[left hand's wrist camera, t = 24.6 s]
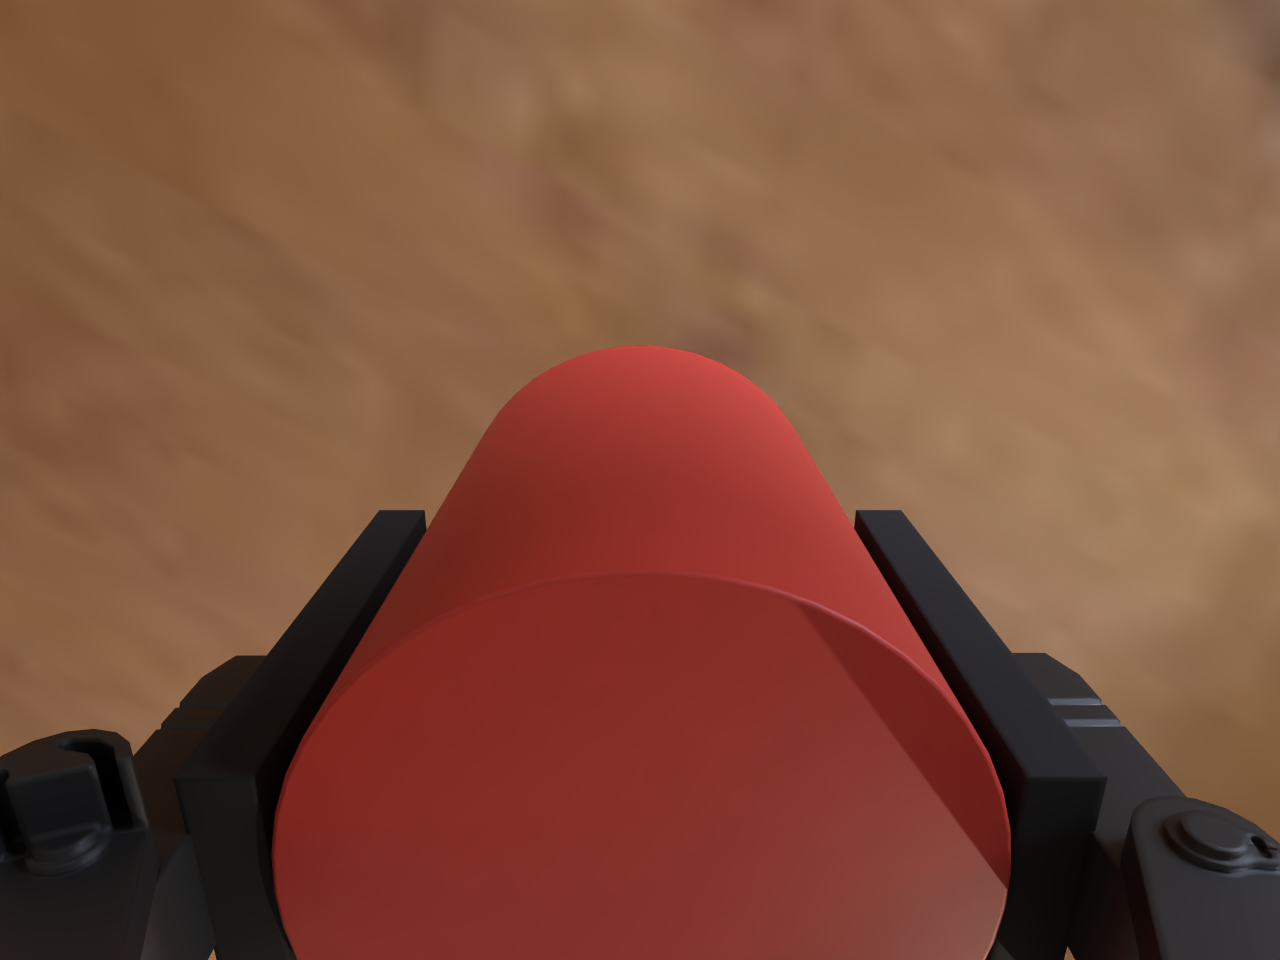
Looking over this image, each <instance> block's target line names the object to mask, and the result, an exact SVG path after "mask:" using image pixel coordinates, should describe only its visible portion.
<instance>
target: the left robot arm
mask: <svg viewBox="0 0 1280 960" xmlns="http://www.w3.org/2000/svg"><path fill="white" fill-rule="evenodd" d="M854 529H855V531H856V533H857V534H858V536H859V538H860V539H861V541H862V543H863V544H864V546H865V548H866V549H867V551H868V553H869V554H870V556H871V558H872V559H873V561H874V563H875V564H876V566H877V568H878V569H879V571H880V573H881V574H882V576H883V578H884V579H885V581H886V583H887V584H888V586H889V587H890V589H891V591H892V592H893V594H894V596H895V597H896V599H897V601H898V602H899V604H900V606H901V607H902V609H903V611H904V612H905V614H906V616H907V617H908V619H909V621H910V622H911V624H912V626H913V627H914V629H915V631H916V632H917V634H918V636H919V637H920V639H921V641H922V642H923V644H924V646H925V647H926V649H927V651H928V652H929V654H930V656H931V657H932V659H933V661H934V662H935V664H936V666H937V667H938V669H939V671H940V672H941V674H942V676H943V677H944V679H945V681H946V682H947V684H948V685H949V687H950V689H951V690H952V692H953V694H954V695H955V697H956V699H957V700H958V702H959V704H960V705H961V707H962V709H963V710H964V712H965V714H966V715H967V717H968V719H969V720H970V722H971V724H972V726H973V727H974V729H975V731H976V732H977V734H978V736H979V738H980V739H981V741H982V743H983V745H984V746H985V748H986V750H987V751H988V753H989V755H990V758H991V761H992V763H993V766H994V769H995V771H996V774H997V777H998V779H999V782H1000V785H1001V787H1002V790H1003V794H1004V799H1005V804H1006V809H1007V814H1008V820H1009V825H1010V835H1011V874H1010V881H1009V887H1008V894H1007V900H1006V907H1005V910H1004V913H1003V916H1002V919H1001V922H1000V925H999V929H998V932H997V935H996V938H995V941H994V944H993V945H992V947H991V949H990V951H989V953H988V955H987V957H986V959H985V960H1064V957H1065V953H1066V949H1067V946H1068V948H1069V949H1070V951H1071V953H1072V955H1073V957H1074V958H1075V960H1280V844H1279V843H1278V842H1277V841H1276V840H1274V839H1273V838H1272V837H1271V836H1269V835H1268V834H1267V833H1266V832H1264V831H1263V830H1262V829H1261V828H1259V827H1258V826H1257V825H1256V824H1254V823H1252V822H1250V821H1248V820H1246V819H1244V818H1243V817H1241V816H1239V815H1237V814H1235V813H1233V812H1231V811H1229V810H1227V809H1226V808H1223V807H1219V806H1216V805H1213V804H1210V803H1207V802H1204V801H1201V800H1198V799H1194V798H1187V797H1186V796H1185V795H1184V794H1183V792H1182V791H1181V790H1180V789H1179V788H1178V787H1177V786H1176V785H1175V783H1174V782H1173V781H1172V780H1171V779H1170V778H1169V777H1168V775H1167V774H1166V773H1165V772H1164V771H1163V770H1162V769H1161V767H1160V766H1159V765H1158V764H1157V763H1156V762H1155V761H1154V759H1153V758H1152V757H1151V756H1150V755H1149V754H1148V753H1147V751H1146V750H1145V749H1144V748H1143V747H1142V746H1141V745H1140V743H1139V742H1138V741H1137V740H1136V739H1135V738H1134V737H1133V735H1132V734H1131V733H1130V732H1129V731H1128V730H1127V729H1126V727H1121V726H1120V721H1119V719H1118V718H1117V717H1116V716H1115V715H1114V714H1113V713H1112V712H1111V710H1110V709H1109V708H1108V707H1107V706H1106V705H1102V703H1101V699H1100V698H1099V697H1098V696H1097V694H1096V693H1095V692H1094V691H1093V690H1092V689H1091V688H1090V686H1089V685H1088V684H1087V683H1086V682H1085V681H1084V680H1083V678H1082V677H1081V676H1080V675H1079V674H1077V673H1076V672H1074V671H1073V670H1071V669H1069V668H1068V667H1066V666H1065V665H1063V664H1061V663H1060V662H1058V661H1057V660H1055V659H1054V658H1052V657H1050V656H1049V655H1047V654H1046V653H1011V652H1010V650H1009V649H1008V648H1007V646H1006V645H1005V644H1004V642H1003V641H1002V640H1001V639H1000V637H999V636H998V635H997V633H996V632H995V631H994V630H993V628H992V627H991V626H990V624H989V623H988V622H987V621H986V619H985V618H984V617H983V615H982V614H981V613H980V612H979V610H978V609H977V608H976V606H975V605H974V604H973V602H972V601H971V600H970V599H969V597H968V596H967V595H966V593H965V592H964V591H963V590H962V588H961V587H960V586H959V584H958V583H957V582H956V581H955V579H954V578H953V577H952V575H951V574H950V573H949V572H948V570H947V569H946V568H945V566H944V565H943V564H942V562H941V561H940V560H939V559H938V557H937V556H936V555H935V553H934V552H933V551H932V550H931V548H930V547H929V546H928V544H927V543H926V542H925V541H924V539H923V538H922V537H921V535H920V534H919V533H918V532H917V530H916V529H915V528H914V526H913V525H912V524H911V522H910V521H909V520H908V519H907V517H906V516H905V515H904V513H903V512H902V511H901V510H856V516H855V526H854ZM425 532H426V520H425V510H379V512H378V513H377V514H376V515H375V517H374V518H373V519H372V521H371V522H370V523H369V524H368V526H367V527H366V528H365V530H364V531H363V532H362V534H361V535H360V536H359V537H358V539H357V540H356V541H355V543H354V544H353V545H352V546H351V548H350V549H349V550H348V552H347V553H346V554H345V555H344V557H343V558H342V559H341V561H340V562H339V563H338V564H337V566H336V567H335V568H334V570H333V571H332V572H331V574H330V575H329V576H328V577H327V579H326V580H325V581H324V583H323V584H322V585H321V586H320V588H319V589H318V590H317V592H316V593H315V594H314V595H313V597H312V598H311V599H310V601H309V602H308V603H307V605H306V606H305V607H304V608H303V610H302V611H301V612H300V614H299V615H298V616H297V617H296V619H295V620H294V621H293V623H292V624H291V625H290V626H289V628H288V629H287V630H286V632H285V633H284V634H283V635H282V637H281V638H280V639H279V641H278V642H277V643H276V645H275V646H274V647H273V648H272V650H271V651H270V652H269V654H268V655H267V656H235V657H233V658H232V659H230V660H229V661H227V662H225V663H224V664H222V665H221V666H219V667H218V668H216V669H214V670H213V671H211V672H210V673H208V674H207V675H205V676H203V677H202V678H201V679H200V680H199V681H198V682H197V684H196V685H195V686H194V687H193V688H192V689H191V691H190V692H189V693H188V694H187V695H186V696H185V697H184V699H183V700H182V701H181V702H180V707H179V708H175V709H174V710H173V711H172V712H171V714H170V715H169V716H168V717H167V718H166V719H165V720H164V722H163V723H162V724H161V729H160V730H156V731H155V732H154V733H153V734H152V735H151V736H150V738H149V739H148V740H147V741H146V742H145V743H144V745H143V746H142V747H141V748H140V749H139V750H138V751H137V753H136V754H135V755H134V756H133V754H132V750H131V746H130V743H129V742H128V741H127V740H126V739H125V738H123V737H122V736H121V735H119V734H118V733H117V732H110V731H104V730H98V729H89V730H79V731H69V732H63V733H60V734H56V735H53V736H49V737H46V738H42V739H39V740H35V741H32V742H30V743H28V744H26V745H24V746H22V747H20V748H17V749H15V750H13V751H11V752H9V753H7V754H4V755H2V756H1V757H0V960H208V958H209V956H210V955H211V953H212V951H213V949H214V951H215V955H216V959H217V960H297V959H296V956H295V954H294V951H293V949H292V947H291V944H290V942H289V940H288V937H287V935H286V933H285V930H284V928H283V924H282V920H281V916H280V912H279V908H278V904H277V900H276V896H275V892H274V881H273V868H272V855H271V850H272V839H273V829H274V818H275V811H276V807H277V803H278V800H279V796H280V792H281V789H282V785H283V782H284V778H285V774H286V772H287V770H288V768H289V766H290V764H291V761H292V759H293V757H294V755H295V753H296V751H297V749H298V747H299V744H300V742H301V740H302V738H303V736H304V734H305V733H306V731H307V729H308V728H309V726H310V724H311V723H312V721H313V719H314V718H315V716H316V714H317V713H318V711H319V709H320V708H321V706H322V704H323V703H324V701H325V699H326V698H327V696H328V694H329V693H330V691H331V689H332V688H333V686H334V684H335V683H336V681H337V679H338V678H339V676H340V674H341V673H342V671H343V669H344V668H345V666H346V664H347V663H348V661H349V659H350V658H351V656H352V654H353V653H354V651H355V649H356V647H357V646H358V644H359V642H360V641H361V639H362V637H363V636H364V634H365V632H366V631H367V629H368V627H369V626H370V624H371V622H372V621H373V619H374V617H375V616H376V614H377V612H378V611H379V609H380V607H381V606H382V604H383V602H384V601H385V599H386V597H387V596H388V594H389V592H390V591H391V589H392V587H393V586H394V584H395V582H396V581H397V579H398V577H399V576H400V574H401V572H402V571H403V569H404V567H405V566H406V564H407V562H408V561H409V559H410V557H411V556H412V554H413V552H414V551H415V549H416V547H417V546H418V544H419V542H420V541H421V539H422V537H423V536H424V534H425Z"/></svg>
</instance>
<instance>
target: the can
mask: <svg viewBox="0 0 1280 960" xmlns="http://www.w3.org/2000/svg"><path fill="white" fill-rule="evenodd" d="M271 855H272V868H273V881H274V892H275V896H276V900H277V904H278V908H279V912H280V916H281V920H282V924H283V928H284V930H285V933H286V935H287V937H288V940H289V942H290V944H291V947H292V949H293V951H294V954H295V956H296V959H297V960H985V959H986V957H987V955H988V953H989V951H990V949H991V947H992V945H993V944H994V941H995V938H996V935H997V932H998V929H999V925H1000V922H1001V919H1002V916H1003V913H1004V910H1005V907H1006V900H1007V894H1008V887H1009V881H1010V874H1011V835H1010V825H1009V820H1008V814H1007V809H1006V804H1005V799H1004V794H1003V790H1002V787H1001V785H1000V782H999V779H998V777H997V774H996V771H995V769H994V766H993V763H992V761H991V758H990V755H989V753H988V751H987V750H986V748H985V746H984V745H983V743H982V741H981V739H980V738H979V736H978V734H977V732H976V731H975V729H974V727H973V726H972V724H971V722H970V720H969V719H968V717H967V715H966V714H965V712H964V710H963V709H962V707H961V705H960V704H959V702H958V700H957V699H956V697H955V695H954V694H953V692H952V690H951V689H950V687H949V685H948V684H947V682H946V681H945V679H944V677H943V676H942V674H941V672H940V671H939V669H938V667H937V666H936V664H935V662H934V661H933V659H932V657H931V656H930V654H929V652H928V651H927V649H926V647H925V646H924V644H923V642H922V641H921V639H920V637H919V636H918V634H917V632H916V631H915V629H914V627H913V626H912V624H911V622H910V621H909V619H908V617H907V616H906V614H905V612H904V611H903V609H902V607H901V606H900V604H899V602H898V601H897V599H896V597H895V596H894V594H893V592H892V591H891V589H890V587H889V586H888V584H887V583H886V581H885V579H884V578H883V576H882V574H881V573H880V571H879V569H878V568H877V566H876V564H875V563H874V561H873V559H872V558H871V556H870V554H869V553H868V551H867V549H866V548H865V546H864V544H863V543H862V541H861V539H860V538H859V536H858V534H857V533H856V531H855V529H854V528H853V526H852V524H851V523H850V521H849V519H848V518H847V516H846V514H845V513H844V511H843V509H842V508H841V506H840V504H839V503H838V501H837V499H836V498H835V496H834V494H833V493H832V491H831V489H830V488H829V486H828V485H827V483H826V481H825V480H824V478H823V476H822V475H821V473H820V471H819V470H818V468H817V466H816V465H815V463H814V461H813V460H812V458H811V456H810V455H809V453H808V451H807V450H806V448H805V446H804V445H803V443H802V441H801V440H800V438H799V436H798V435H797V433H796V431H795V430H794V428H793V426H792V425H791V423H790V421H789V420H788V419H787V417H786V416H785V415H784V414H783V412H782V411H781V410H780V409H779V407H778V406H777V405H776V404H775V403H774V402H773V401H772V400H771V399H770V398H769V397H768V396H767V395H766V394H765V393H764V392H763V391H762V390H761V389H760V388H759V387H758V386H756V385H755V384H753V383H752V382H751V381H749V380H748V379H746V378H745V377H744V376H742V375H741V374H739V373H738V372H736V371H734V370H732V369H730V368H728V367H727V366H725V365H723V364H721V363H719V362H717V361H714V360H712V359H709V358H706V357H703V356H701V355H698V354H695V353H691V352H687V351H683V350H678V349H674V348H667V347H657V346H621V347H615V348H609V349H603V350H597V351H594V352H591V353H588V354H584V355H581V356H578V357H574V358H572V359H570V360H568V361H566V362H563V363H561V364H559V365H557V366H555V367H552V368H551V369H549V370H548V371H546V372H544V373H543V374H541V375H540V376H538V377H537V378H535V379H533V380H532V381H531V382H529V383H528V384H527V385H526V386H525V387H523V388H522V389H521V390H520V391H519V392H518V393H516V394H515V395H514V396H513V397H512V398H511V399H510V400H509V402H508V403H507V404H506V405H505V406H504V407H503V408H502V409H501V410H500V412H499V413H498V414H497V416H496V417H495V419H494V420H493V422H492V423H491V424H490V426H489V427H488V429H487V430H486V432H485V434H484V435H483V437H482V439H481V440H480V442H479V444H478V445H477V447H476V449H475V450H474V452H473V454H472V455H471V457H470V459H469V460H468V462H467V464H466V465H465V467H464V469H463V470H462V472H461V474H460V475H459V477H458V479H457V480H456V482H455V484H454V485H453V487H452V489H451V490H450V492H449V494H448V495H447V497H446V499H445V500H444V502H443V504H442V505H441V507H440V509H439V510H438V512H437V514H436V515H435V517H434V519H433V521H432V522H431V524H430V526H429V527H428V529H427V531H426V532H425V534H424V536H423V537H422V539H421V541H420V542H419V544H418V546H417V547H416V549H415V551H414V552H413V554H412V556H411V557H410V559H409V561H408V562H407V564H406V566H405V567H404V569H403V571H402V572H401V574H400V576H399V577H398V579H397V581H396V582H395V584H394V586H393V587H392V589H391V591H390V592H389V594H388V596H387V597H386V599H385V601H384V602H383V604H382V606H381V607H380V609H379V611H378V612H377V614H376V616H375V617H374V619H373V621H372V622H371V624H370V626H369V627H368V629H367V631H366V632H365V634H364V636H363V637H362V639H361V641H360V642H359V644H358V646H357V647H356V649H355V651H354V653H353V654H352V656H351V658H350V659H349V661H348V663H347V664H346V666H345V668H344V669H343V671H342V673H341V674H340V676H339V678H338V679H337V681H336V683H335V684H334V686H333V688H332V689H331V691H330V693H329V694H328V696H327V698H326V699H325V701H324V703H323V704H322V706H321V708H320V709H319V711H318V713H317V714H316V716H315V718H314V719H313V721H312V723H311V724H310V726H309V728H308V729H307V731H306V733H305V734H304V736H303V738H302V740H301V742H300V744H299V747H298V749H297V751H296V753H295V755H294V757H293V759H292V761H291V764H290V766H289V768H288V770H287V772H286V774H285V778H284V782H283V785H282V789H281V792H280V796H279V800H278V803H277V807H276V811H275V818H274V829H273V839H272V850H271Z"/></svg>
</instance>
